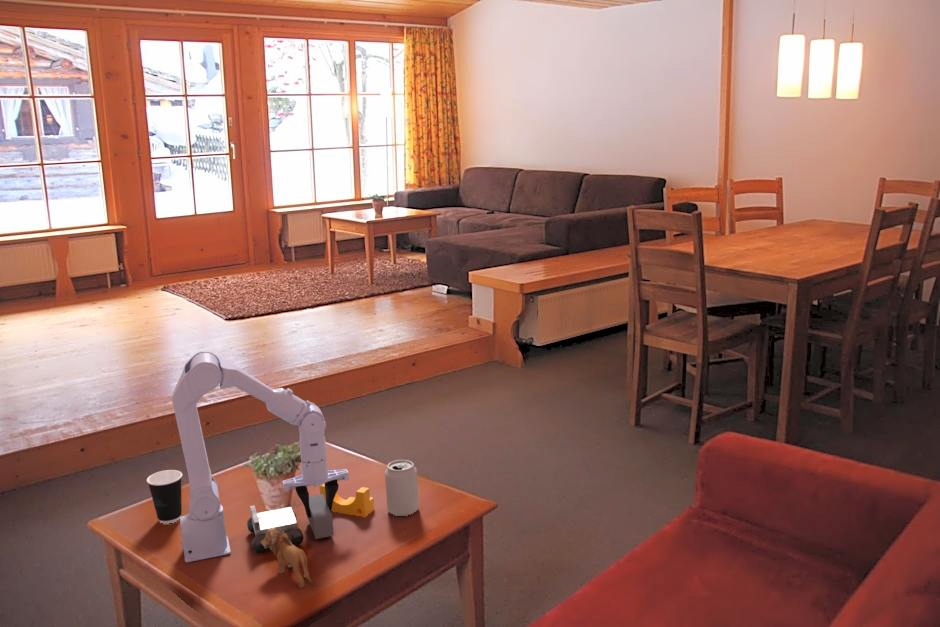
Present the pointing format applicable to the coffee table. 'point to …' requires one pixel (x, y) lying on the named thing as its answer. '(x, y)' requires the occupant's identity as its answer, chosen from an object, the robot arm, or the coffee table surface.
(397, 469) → the can
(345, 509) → the pipe clamp
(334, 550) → the coffee table surface
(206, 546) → the robot arm
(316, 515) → the block
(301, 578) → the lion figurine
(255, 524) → the trolley
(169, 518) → the dixie cup
